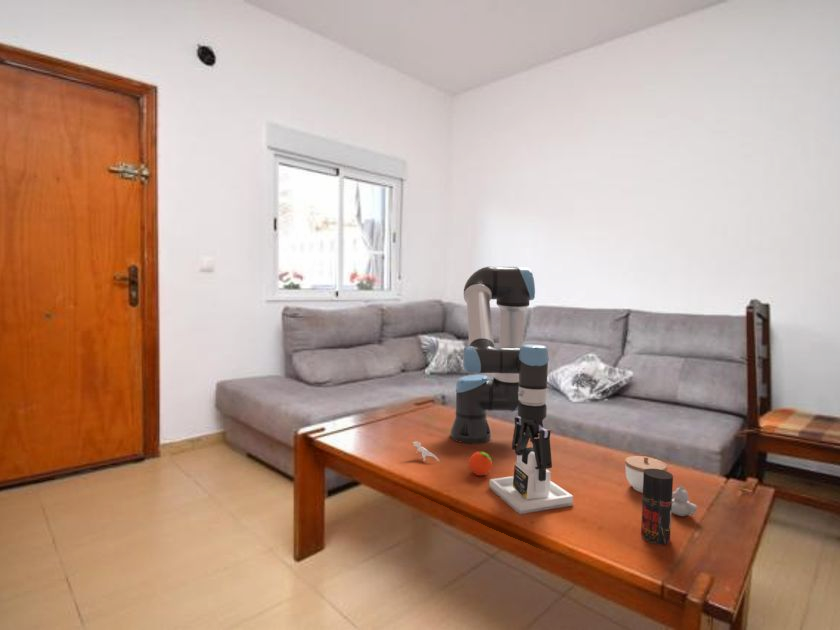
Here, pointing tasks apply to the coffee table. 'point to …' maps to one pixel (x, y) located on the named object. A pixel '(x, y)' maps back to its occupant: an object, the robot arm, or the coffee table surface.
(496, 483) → the tray
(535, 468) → the robot arm
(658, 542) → the deodorant
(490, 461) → the clementine
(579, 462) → the coffee table surface
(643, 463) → the lidded jar
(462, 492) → the coffee table surface
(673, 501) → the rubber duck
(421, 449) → the dinosaur figurine
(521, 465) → the medicine bottle
